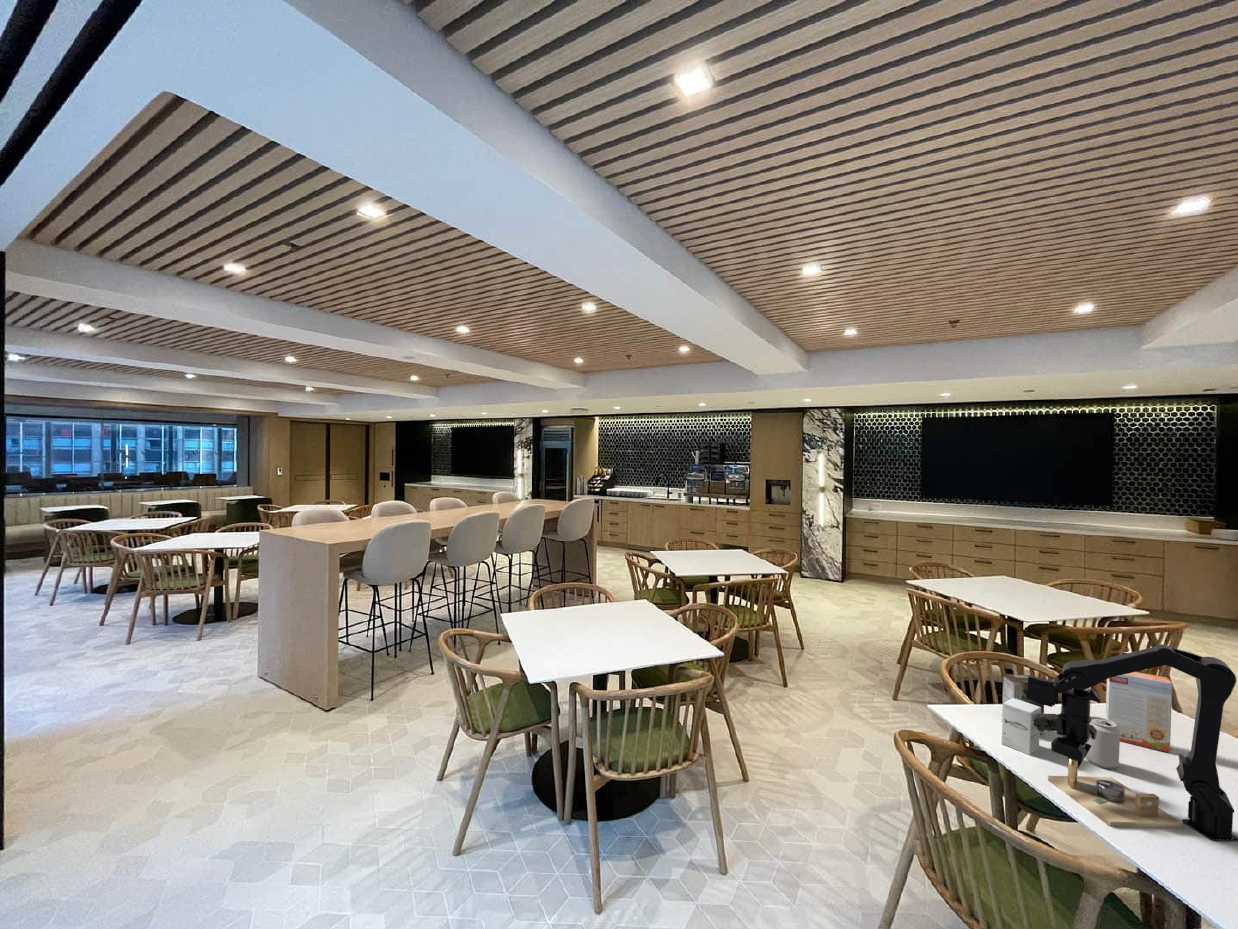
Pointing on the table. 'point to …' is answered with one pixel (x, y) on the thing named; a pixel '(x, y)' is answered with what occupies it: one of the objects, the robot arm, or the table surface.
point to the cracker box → (1141, 709)
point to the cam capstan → (1102, 787)
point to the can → (1104, 744)
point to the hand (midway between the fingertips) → (1073, 770)
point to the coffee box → (1016, 690)
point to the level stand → (1118, 805)
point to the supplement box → (1020, 726)
